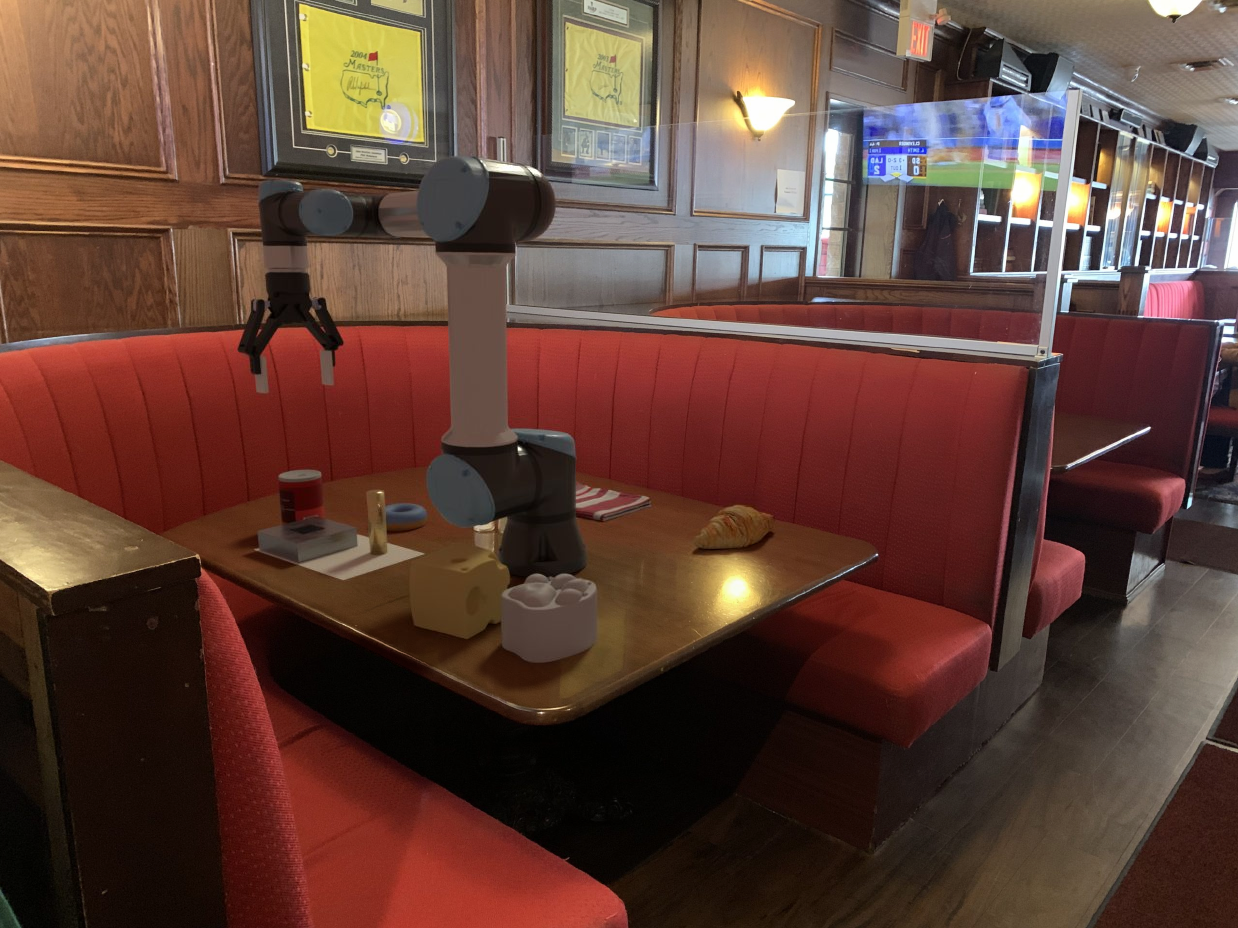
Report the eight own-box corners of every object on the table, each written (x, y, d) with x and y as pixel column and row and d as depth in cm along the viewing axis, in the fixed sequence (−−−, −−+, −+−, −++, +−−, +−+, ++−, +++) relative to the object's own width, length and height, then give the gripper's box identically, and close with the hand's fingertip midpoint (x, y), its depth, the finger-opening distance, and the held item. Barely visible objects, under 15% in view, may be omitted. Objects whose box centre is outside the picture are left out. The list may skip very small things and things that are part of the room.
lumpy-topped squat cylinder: (492, 642, 121) (490, 581, 119) (569, 618, 129) (568, 561, 127) (537, 667, 113) (536, 603, 111) (615, 640, 122) (615, 580, 120)
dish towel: (572, 490, 205) (572, 478, 204) (653, 507, 190) (654, 495, 190) (519, 504, 192) (519, 492, 192) (602, 524, 178) (601, 511, 177)
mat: (425, 555, 157) (425, 553, 157) (343, 582, 143) (343, 580, 143) (335, 529, 172) (335, 527, 172) (253, 551, 159) (253, 549, 159)
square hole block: (357, 546, 161) (356, 527, 160) (298, 563, 151) (297, 543, 151) (317, 534, 168) (316, 516, 167) (259, 549, 159) (257, 530, 158)
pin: (391, 551, 157) (387, 491, 155) (377, 556, 155) (373, 494, 153) (380, 548, 159) (376, 488, 157) (366, 552, 157) (362, 492, 155)
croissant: (707, 574, 158) (723, 541, 154) (671, 537, 164) (686, 504, 159) (781, 547, 172) (798, 516, 168) (746, 514, 177) (762, 483, 173)
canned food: (331, 524, 176) (327, 469, 173) (314, 536, 168) (310, 479, 166) (294, 523, 176) (290, 468, 174) (275, 534, 169) (270, 478, 166)
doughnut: (417, 515, 181) (415, 494, 180) (436, 529, 173) (433, 507, 172) (369, 527, 177) (366, 505, 175) (386, 542, 168) (382, 520, 167)
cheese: (513, 616, 130) (512, 551, 128) (465, 643, 121) (462, 572, 119) (458, 603, 135) (456, 539, 133) (408, 627, 126) (404, 559, 124)
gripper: (333, 270, 172) (341, 380, 177) (209, 271, 153) (221, 394, 158) (357, 270, 168) (364, 383, 173) (232, 271, 149) (244, 397, 153)
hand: (296, 388), depth 165 cm, fingers open, 13 cm apart
